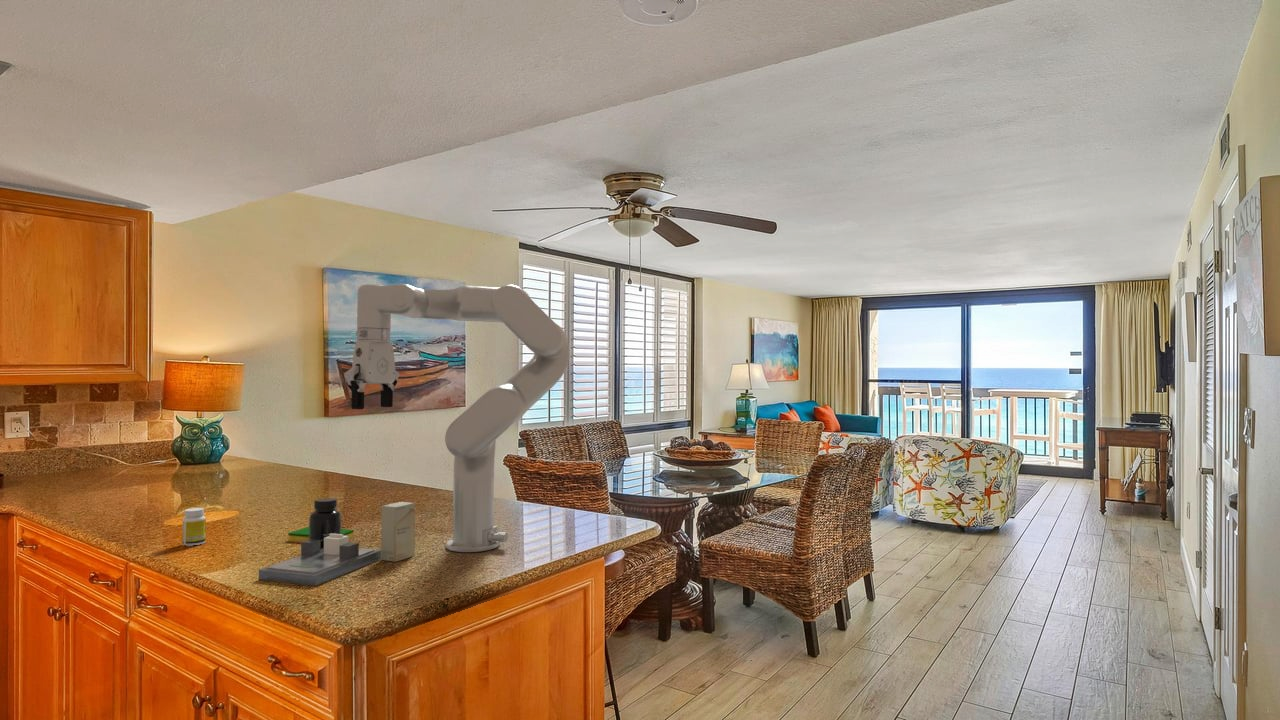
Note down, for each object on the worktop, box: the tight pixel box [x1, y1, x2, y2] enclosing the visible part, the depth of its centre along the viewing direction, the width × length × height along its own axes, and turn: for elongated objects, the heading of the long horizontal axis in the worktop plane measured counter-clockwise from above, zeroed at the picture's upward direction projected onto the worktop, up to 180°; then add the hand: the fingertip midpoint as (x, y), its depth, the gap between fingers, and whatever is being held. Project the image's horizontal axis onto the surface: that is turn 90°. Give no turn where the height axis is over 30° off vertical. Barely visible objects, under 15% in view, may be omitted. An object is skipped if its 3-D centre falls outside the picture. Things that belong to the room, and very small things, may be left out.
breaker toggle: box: [324, 533, 350, 555], centre depth 152 cm, size 4×3×4 cm
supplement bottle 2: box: [308, 497, 342, 549], centre depth 163 cm, size 7×7×12 cm
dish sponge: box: [287, 526, 355, 543], centre depth 174 cm, size 7×14×2 cm, turn 76°
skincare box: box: [380, 501, 416, 563], centre depth 157 cm, size 6×4×12 cm
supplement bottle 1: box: [182, 507, 207, 547], centre depth 169 cm, size 5×5×8 cm
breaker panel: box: [258, 539, 381, 587], centre depth 148 cm, size 14×20×5 cm
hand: (372, 407), depth 166 cm, fingers open, 9 cm apart
